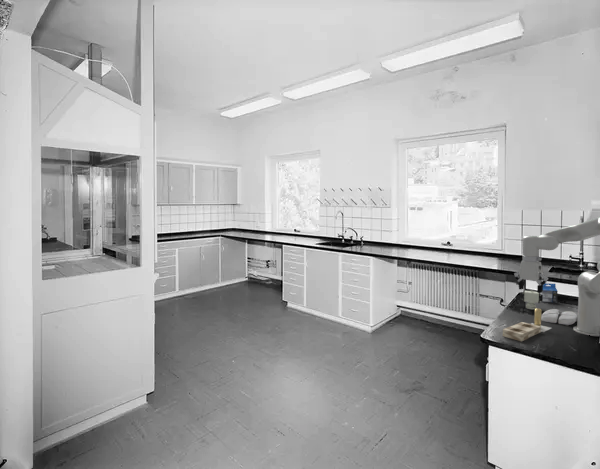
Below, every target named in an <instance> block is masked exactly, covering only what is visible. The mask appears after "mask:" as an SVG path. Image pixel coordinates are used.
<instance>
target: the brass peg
mask: <svg viewBox="0 0 600 469" xmlns="http://www.w3.org/2000/svg"><path fill="white" fill-rule="evenodd" d="M541 315H542V309H541V308H537V307H536V308H535V309H534V315H533V316H534V318H533V322H534V323H533V324H534V325H537V326H541V325H542V320H541Z"/></svg>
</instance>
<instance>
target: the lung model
mask: <svg viewBox="0 0 600 469" xmlns="http://www.w3.org/2000/svg"><path fill="white" fill-rule="evenodd" d="M577 319H578V313H576V312H575V311H561V312H560V310H559V309H557V308H554V309H553V308H551V309H547V310H545V311H544V312H543V313H541V322H545V323H546V322H547V323H552V324H556V323H558V324H559V325H565V326H569V325H570V326H571V325H573V324H575V322H577Z"/></svg>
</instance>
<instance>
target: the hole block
mask: <svg viewBox="0 0 600 469" xmlns="http://www.w3.org/2000/svg"><path fill="white" fill-rule="evenodd" d="M533 324H534V323H533ZM533 324H531V323H528V322H523V321H521V322H518V323H516V324H513V325H510V326H508V327H505V328H503V329H502V337H505V338H508V339H511V340H515V341H518V342H523V341H527V340H529V339H530V338H531V337H533V336H535V335H538V334H540V333H541V332H542V331H541V326H537V325H533Z"/></svg>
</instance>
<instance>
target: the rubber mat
mask: <svg viewBox="0 0 600 469" xmlns="http://www.w3.org/2000/svg"><path fill="white" fill-rule="evenodd" d="M530 324H533V325H534V323H533V322H531V323H530ZM551 329H552V327H550V326H545V325H542V324H541V332H543V333H545V332H547V331H549V330H551Z"/></svg>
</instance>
